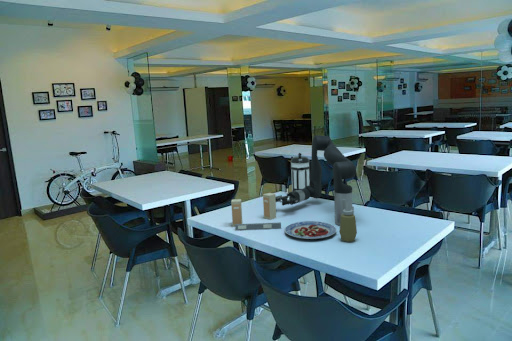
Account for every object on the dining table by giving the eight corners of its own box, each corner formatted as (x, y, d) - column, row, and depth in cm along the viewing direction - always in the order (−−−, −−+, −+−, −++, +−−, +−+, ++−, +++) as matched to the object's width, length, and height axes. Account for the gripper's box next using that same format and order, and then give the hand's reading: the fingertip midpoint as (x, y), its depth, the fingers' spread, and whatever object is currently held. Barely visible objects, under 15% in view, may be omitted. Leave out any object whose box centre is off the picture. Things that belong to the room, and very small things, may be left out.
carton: (270, 216, 230) (269, 192, 228) (276, 217, 226) (275, 193, 224) (263, 218, 227) (262, 194, 224) (269, 219, 223) (268, 195, 220)
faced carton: (233, 223, 219) (232, 199, 216) (242, 223, 219) (241, 199, 216) (232, 226, 214) (231, 201, 211) (241, 226, 214) (240, 201, 211)
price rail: (281, 227, 208) (280, 222, 208) (281, 228, 207) (280, 223, 206) (235, 229, 209) (235, 224, 209) (235, 230, 208) (235, 225, 207)
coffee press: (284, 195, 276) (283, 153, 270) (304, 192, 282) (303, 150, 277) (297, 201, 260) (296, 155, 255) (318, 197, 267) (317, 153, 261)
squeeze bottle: (344, 235, 192) (344, 199, 189) (359, 238, 187) (359, 202, 184) (336, 240, 186) (335, 203, 183) (352, 244, 181) (352, 206, 178)
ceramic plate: (319, 222, 215) (319, 217, 215) (346, 236, 191) (346, 231, 191) (276, 229, 206) (276, 224, 206) (299, 246, 183) (299, 240, 182)
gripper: (287, 189, 245) (268, 194, 234) (304, 192, 234) (285, 198, 223) (287, 201, 246) (268, 206, 235) (305, 204, 236) (286, 210, 225)
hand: (277, 202), depth 229 cm, fingers open, 8 cm apart
